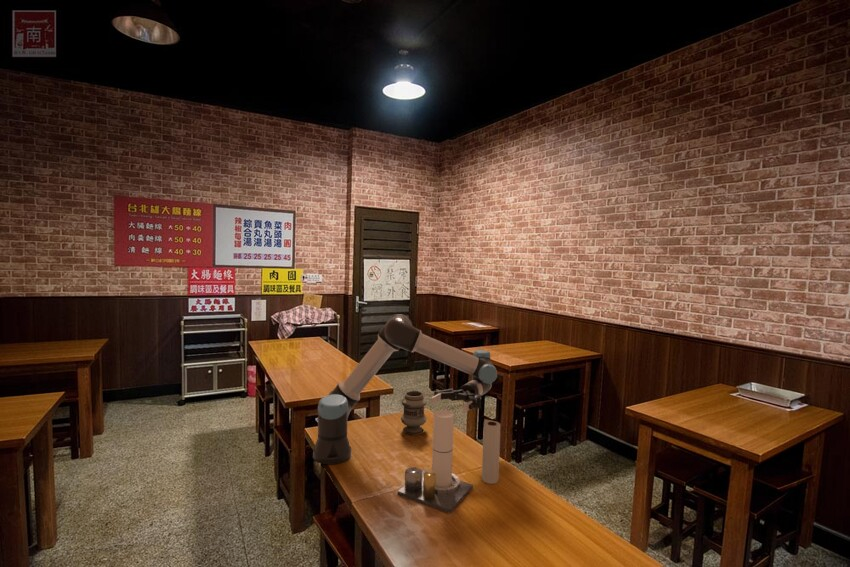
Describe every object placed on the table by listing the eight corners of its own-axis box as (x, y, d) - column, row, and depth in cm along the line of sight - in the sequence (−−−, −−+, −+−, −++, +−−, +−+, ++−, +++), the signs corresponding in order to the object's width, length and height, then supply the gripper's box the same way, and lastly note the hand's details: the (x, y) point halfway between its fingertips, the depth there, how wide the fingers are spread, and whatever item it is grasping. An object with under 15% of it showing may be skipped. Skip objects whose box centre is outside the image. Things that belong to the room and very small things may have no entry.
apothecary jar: (396, 433, 193) (397, 395, 192) (405, 424, 204) (406, 388, 203) (421, 437, 189) (422, 398, 188) (429, 427, 201) (430, 390, 200)
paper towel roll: (498, 485, 150) (500, 427, 149) (481, 483, 151) (483, 425, 150) (498, 475, 157) (500, 419, 156) (482, 473, 158) (484, 418, 157)
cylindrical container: (428, 484, 147) (430, 414, 146) (436, 475, 154) (439, 408, 152) (446, 490, 144) (448, 419, 143) (454, 480, 150) (457, 412, 149)
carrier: (396, 494, 143) (397, 470, 142) (425, 470, 160) (425, 449, 159) (450, 513, 133) (450, 488, 132) (474, 486, 149) (475, 463, 149)
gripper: (498, 406, 169) (477, 422, 151) (444, 394, 182) (418, 407, 163) (499, 388, 169) (478, 402, 150) (445, 377, 181) (419, 388, 163)
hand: (447, 405), depth 157 cm, fingers open, 13 cm apart
